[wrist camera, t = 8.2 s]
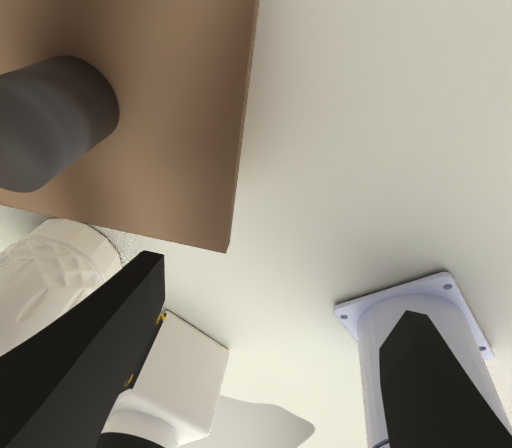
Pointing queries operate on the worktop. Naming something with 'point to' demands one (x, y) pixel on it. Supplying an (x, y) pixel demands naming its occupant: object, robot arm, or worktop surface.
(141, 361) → the medicine bottle
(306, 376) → the worktop surface
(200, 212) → the lid
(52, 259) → the white cup
